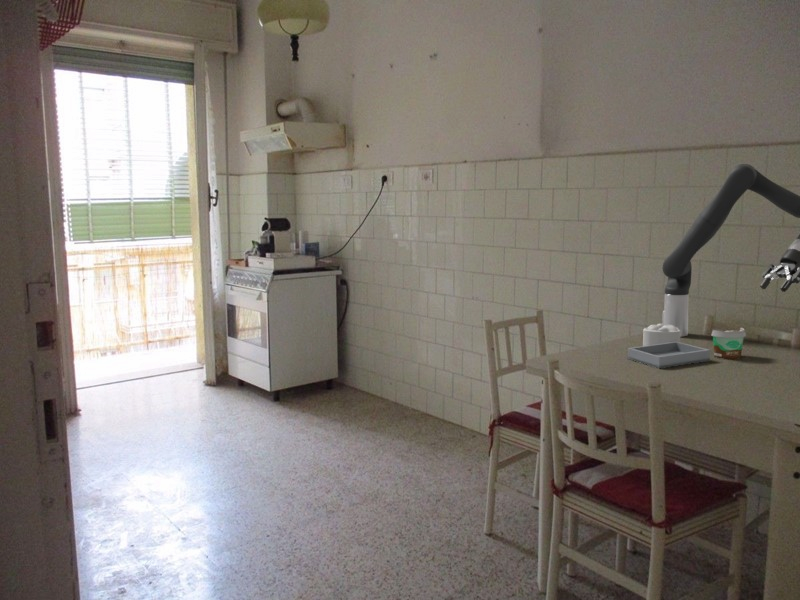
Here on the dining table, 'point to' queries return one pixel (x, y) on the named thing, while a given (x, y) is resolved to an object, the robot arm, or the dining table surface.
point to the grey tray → (668, 354)
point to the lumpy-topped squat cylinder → (660, 334)
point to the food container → (728, 343)
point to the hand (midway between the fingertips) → (772, 289)
